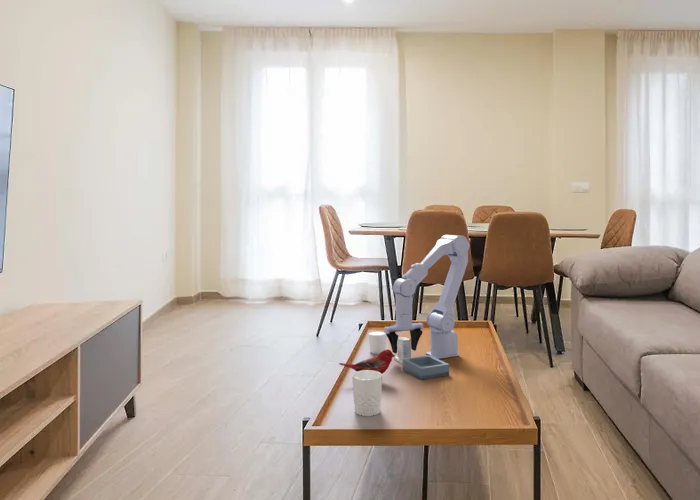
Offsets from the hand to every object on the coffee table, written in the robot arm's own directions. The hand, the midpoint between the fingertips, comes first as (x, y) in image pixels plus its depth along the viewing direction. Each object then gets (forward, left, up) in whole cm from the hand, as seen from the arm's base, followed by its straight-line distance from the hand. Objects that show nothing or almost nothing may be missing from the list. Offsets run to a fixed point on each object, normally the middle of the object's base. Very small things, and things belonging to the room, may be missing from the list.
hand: (404, 351), depth 180 cm
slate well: (0, +14, -3) cm, 14 cm away
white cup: (+31, +35, -4) cm, 47 cm away
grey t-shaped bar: (0, 0, -3) cm, 3 cm away
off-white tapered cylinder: (+3, -15, -4) cm, 16 cm away
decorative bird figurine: (+21, +14, -4) cm, 25 cm away
